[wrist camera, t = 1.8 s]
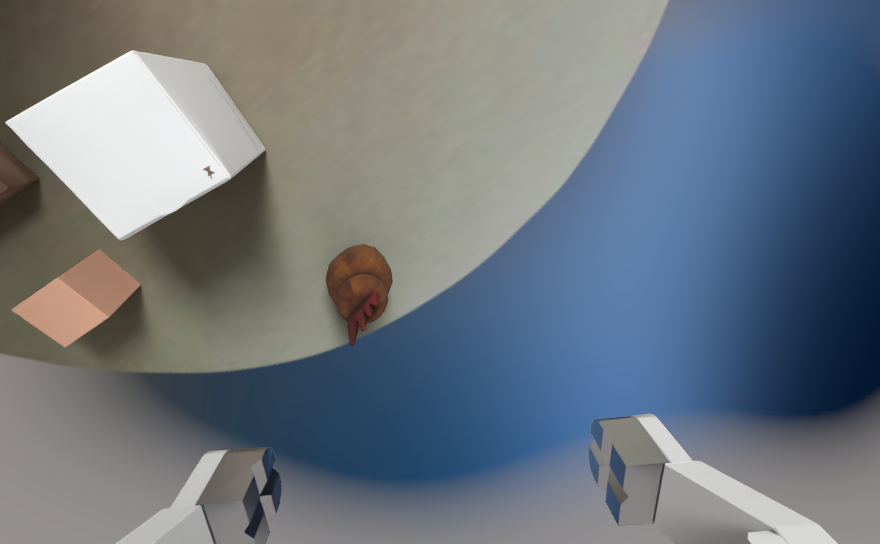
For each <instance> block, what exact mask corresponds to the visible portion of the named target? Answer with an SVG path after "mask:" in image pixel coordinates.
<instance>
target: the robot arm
mask: <svg viewBox="0 0 880 544" xmlns="http://www.w3.org/2000/svg"><path fill="white" fill-rule="evenodd" d="M591 434H592V436H593V438H594V441H593V442H592V444H591V445H590V446H589V463H590V468H591V471H592V474H593V477H594V479H595V481H596V483H597V485H598V486H599V487H600V488H602V489H603V490H604V491H606V503H607V505H608V507H609V509H610V511H611V513H612V515H613V517H614V519H615V521H616V523H617V525H618V526H626V525H642V524H654V526H655V527H656V528H657V529H659V530H660V531H661V532H662V533H663V534H664V535H666V536H667V537H668V538H669V539H670V540H672V541H673V542H674V543H675V544H837V543H836V542H835V541H834V540H833V539H832V538H831V537H830V536H829V535H828V534H827V533H826V532H825V531H824V530H823V529H822V528H821V527H820V526H819V525H818V524H817V523H815V522H813V521H811V520H809V519H807V518H805V517H804V516H802V515H800V514H798V513H796V512H794V511H792V510H790V509H788V508H786V507H785V506H783V505H781V504H779V503H777V502H775V501H774V500H772V499H770V498H768V497H766V496H764V495H762V494H760V493H758V492H757V491H755V490H753V489H751V488H749V487H747V486H746V485H744V484H742V483H740V482H738V481H736V480H734V479H732V478H730V477H728V476H727V475H725V474H723V473H721V472H719V471H717V470H716V469H714V468H712V467H710V466H708V465H706V464H704V463H702V462H701V461H693V460H692V459H691V458H690V457H689V456H688V454H687V453H686V452H685V451H684V450H683V448H682V447H681V446H680V445H679V444H678V442H677V441H676V440H675V439H674V438H673V436H672V435H671V434H670V433H669V432H668V430H667V429H666V428H665V427H664V426H663V424H662V423H661V422H660V421H659V420H658V419H657V417H656V416H654V415H653V414H644V415H634V416H627V417H616V418H606V419H595V420H593V422H592V424H591ZM275 460H276V459H275V455H274V452H273V449H272V448H270V447H263V448H247V449H230V450H221V451H209V452H208V453H206V454H204V456H203V457H202V458H201V460H200V461H199V463H198V465H197V466H196V468H195V469H194V471H193V472H192V474H191V475H190V477H189V479H188V480H187V482H186V483H185V485H184V486H183V488H182V490H181V491H180V493H179V495H178V496H177V497H176V499H175V501H174V502H173V504H172V505H171V507H170V508H165V509H162V510H161V511H160V512H158V513H157V514H155V515H154V516H152V517H151V518H150V519H148V520H147V521H146V522H144V523H143V524H142V525H140V526H139V527H138V528H136V529H135V530H133V531H132V532H131V533H129V534H128V535H126V536H125V537H124V538H122V539H121V540H120V541H118V542H117V543H116V544H266V542H267V539H268V536H269V533H270V531H269V527H268V522H269V521H270V520H271V519H272V518H273V517H274V516H275V515H276V513H277V510H278V507H279V504H280V497H281V479H280V475H279V473H278V472H277V471H276V470H275V469H273V468H272V467H273V464H274V462H275Z"/></svg>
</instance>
